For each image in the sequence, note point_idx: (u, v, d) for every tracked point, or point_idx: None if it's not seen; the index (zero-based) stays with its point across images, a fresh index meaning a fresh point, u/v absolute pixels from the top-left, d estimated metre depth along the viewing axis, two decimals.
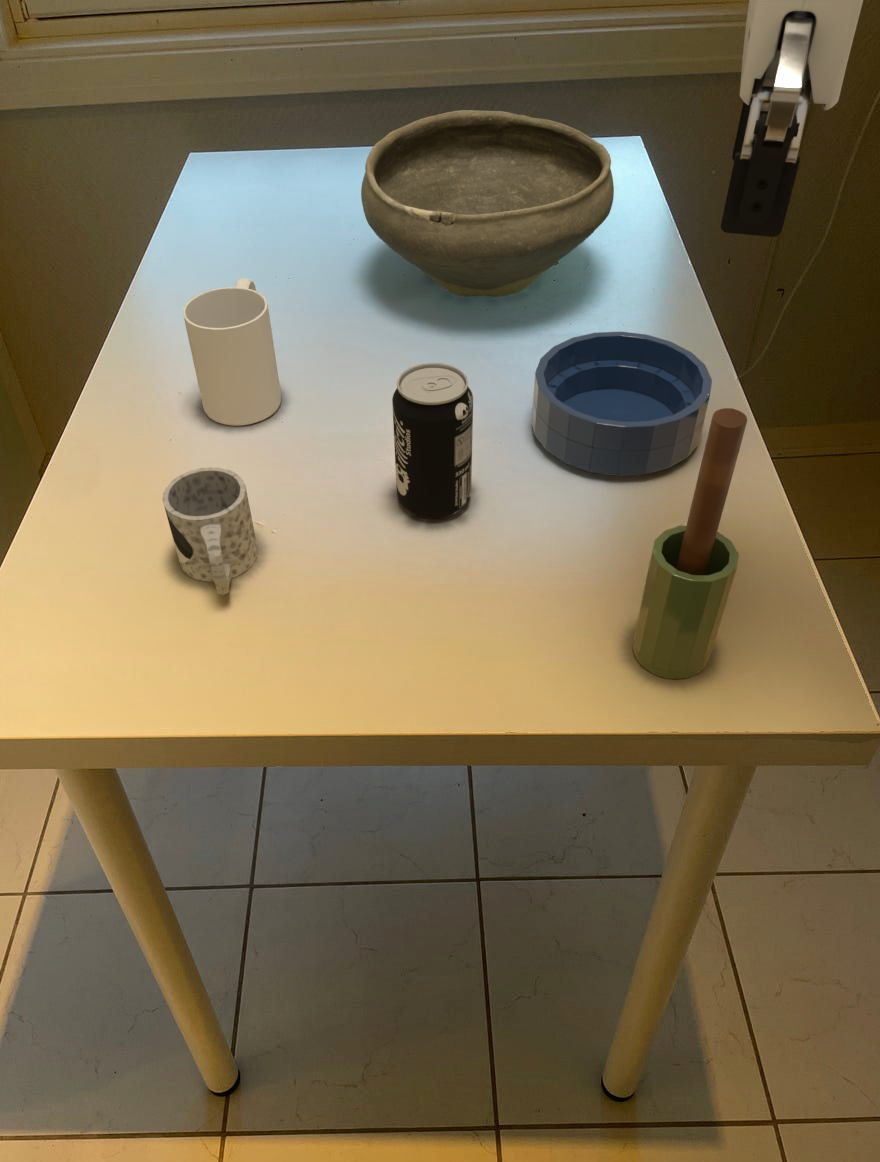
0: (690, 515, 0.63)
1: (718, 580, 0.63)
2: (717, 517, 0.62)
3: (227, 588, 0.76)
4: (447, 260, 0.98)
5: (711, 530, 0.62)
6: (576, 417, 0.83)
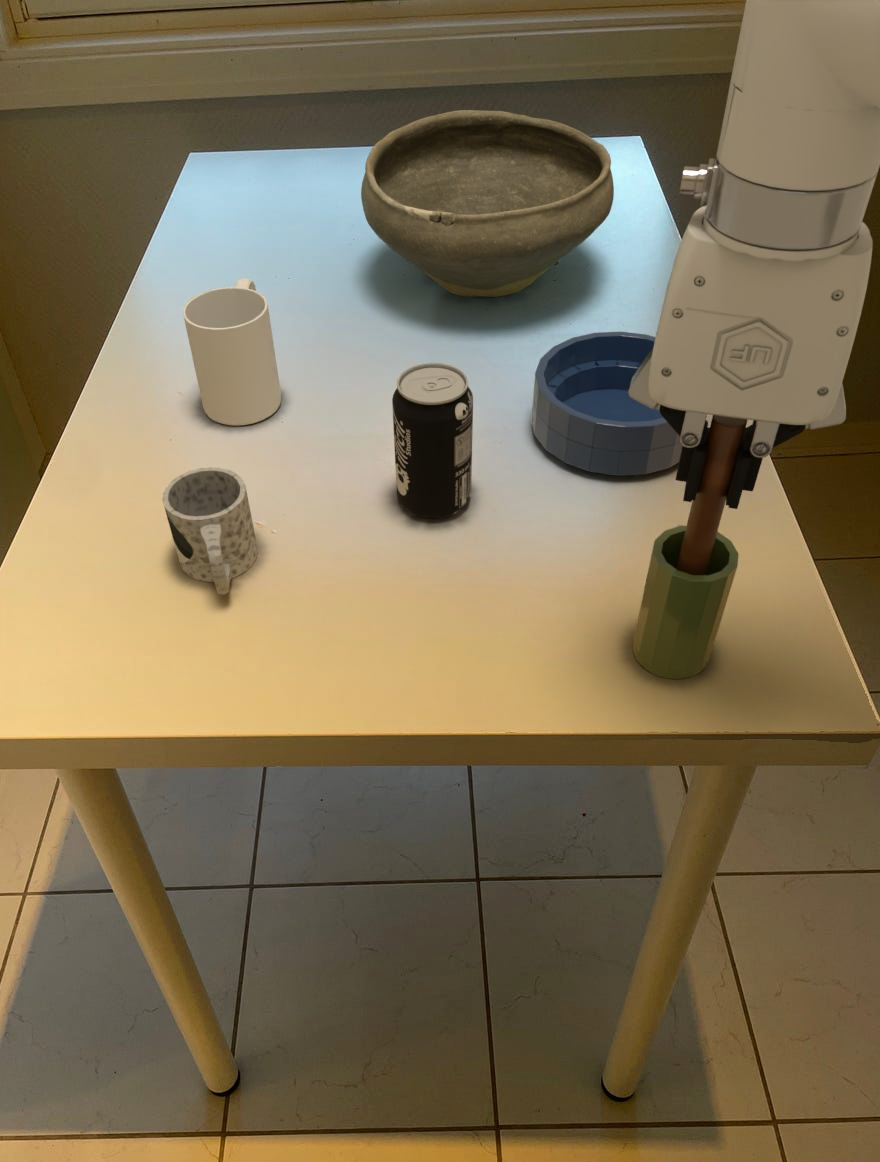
0: (690, 515, 0.63)
1: (718, 580, 0.63)
2: (717, 517, 0.62)
3: (227, 588, 0.76)
4: (447, 260, 0.98)
5: (711, 530, 0.62)
6: (576, 417, 0.83)
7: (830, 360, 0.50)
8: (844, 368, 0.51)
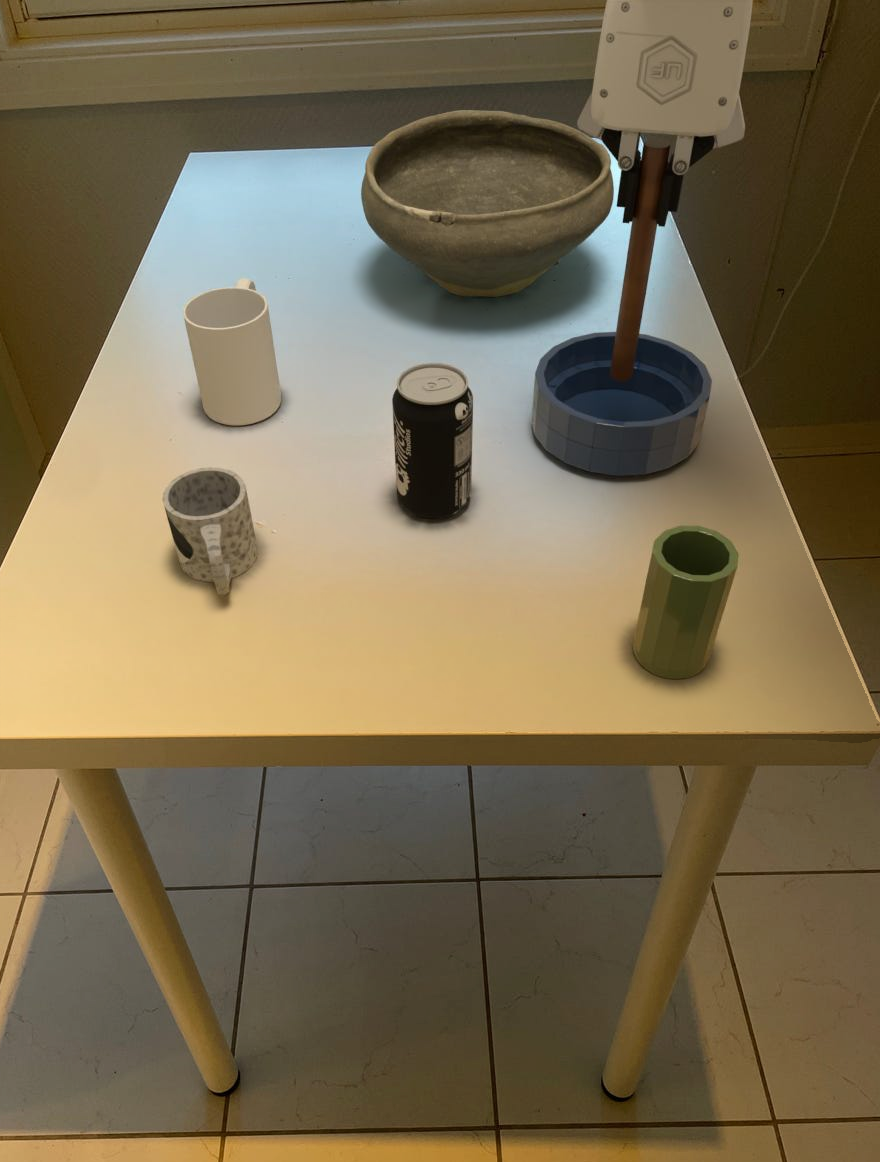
0: (630, 240, 0.78)
1: (718, 580, 0.63)
2: (651, 239, 0.77)
3: (227, 588, 0.76)
4: (447, 260, 0.98)
5: (646, 252, 0.78)
6: (576, 417, 0.83)
7: (726, 72, 0.66)
8: (737, 79, 0.66)
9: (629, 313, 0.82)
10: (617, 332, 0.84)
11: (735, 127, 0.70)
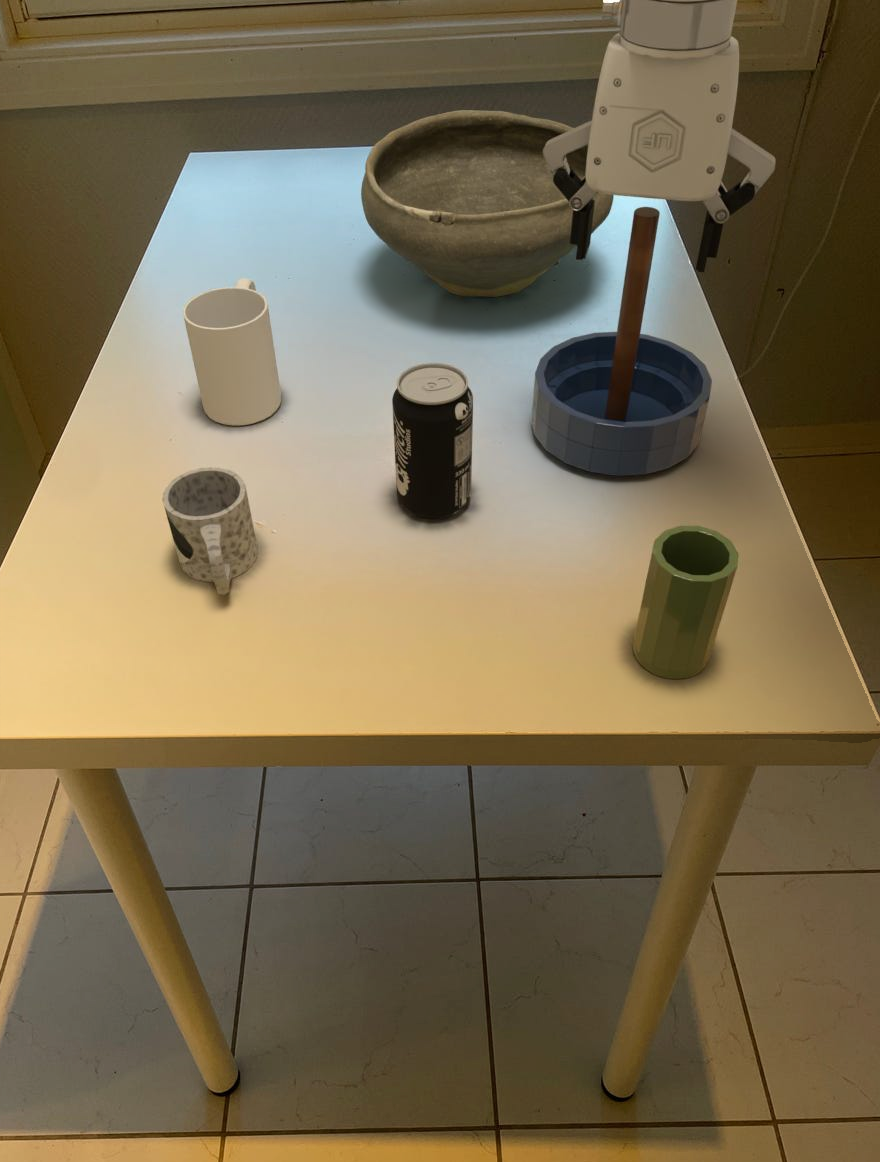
0: (622, 300, 0.82)
1: (718, 580, 0.63)
2: (642, 299, 0.81)
3: (227, 588, 0.76)
4: (447, 260, 0.98)
5: (637, 312, 0.82)
6: (576, 417, 0.83)
7: (713, 143, 0.69)
8: (724, 150, 0.69)
9: (622, 367, 0.86)
10: (610, 384, 0.88)
11: (761, 164, 0.71)
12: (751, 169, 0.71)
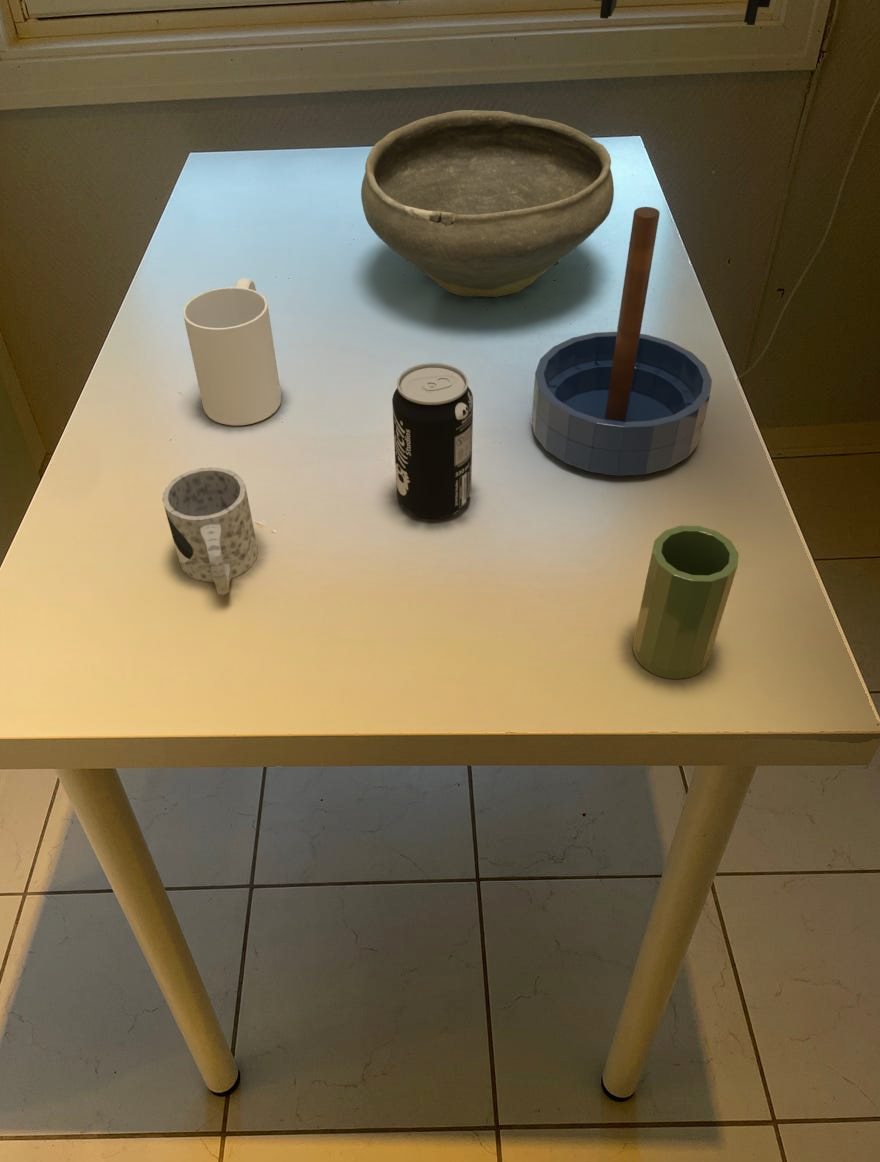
0: (622, 300, 0.82)
1: (718, 580, 0.63)
2: (642, 299, 0.81)
3: (227, 588, 0.76)
4: (447, 260, 0.98)
5: (637, 312, 0.82)
6: (576, 417, 0.83)
7: None
8: None
9: (622, 367, 0.86)
10: (610, 384, 0.88)
11: None
12: None
